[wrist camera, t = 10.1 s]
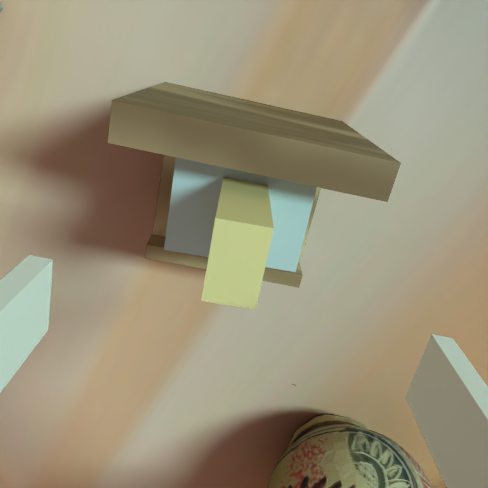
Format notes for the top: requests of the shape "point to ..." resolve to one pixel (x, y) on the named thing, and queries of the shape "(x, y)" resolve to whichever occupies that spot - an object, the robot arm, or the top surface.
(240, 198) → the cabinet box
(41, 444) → the top surface
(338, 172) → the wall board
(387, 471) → the ceramic jug
